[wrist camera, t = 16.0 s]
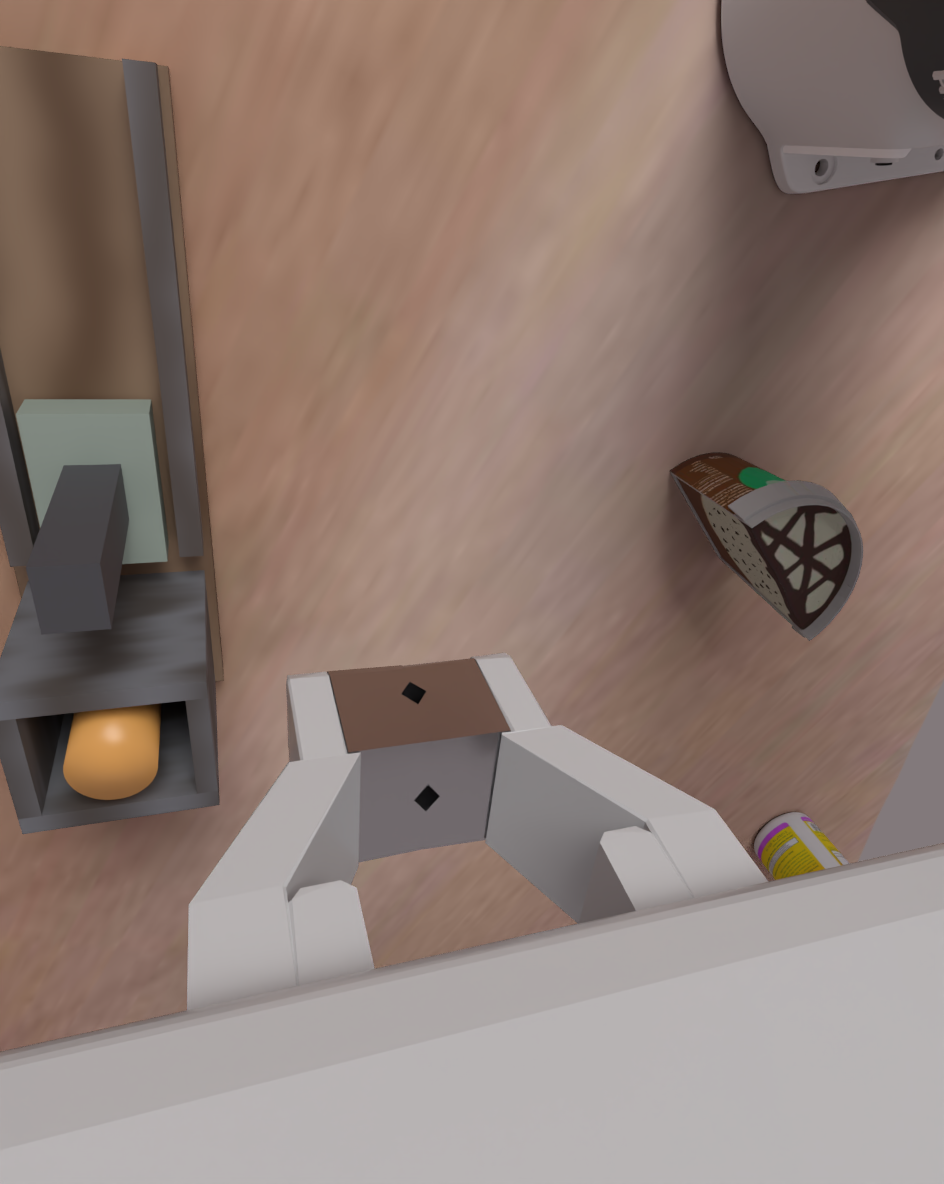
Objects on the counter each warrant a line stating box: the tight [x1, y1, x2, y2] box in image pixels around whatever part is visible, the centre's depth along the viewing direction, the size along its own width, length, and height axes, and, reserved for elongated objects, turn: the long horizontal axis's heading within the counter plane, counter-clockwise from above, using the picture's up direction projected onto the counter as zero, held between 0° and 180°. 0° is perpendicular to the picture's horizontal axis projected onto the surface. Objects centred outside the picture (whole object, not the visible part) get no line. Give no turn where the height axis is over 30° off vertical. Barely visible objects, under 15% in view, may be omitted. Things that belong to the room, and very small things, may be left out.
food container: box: [670, 453, 863, 641], centre depth 50 cm, size 12×6×10 cm, turn 35°
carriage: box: [16, 399, 169, 635], centre depth 34 cm, size 6×8×12 cm
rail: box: [0, 46, 224, 834], centre depth 35 cm, size 10×32×12 cm, turn 175°
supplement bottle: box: [754, 812, 849, 880], centre depth 74 cm, size 7×7×13 cm
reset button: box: [63, 703, 162, 800], centre depth 38 cm, size 4×4×6 cm
